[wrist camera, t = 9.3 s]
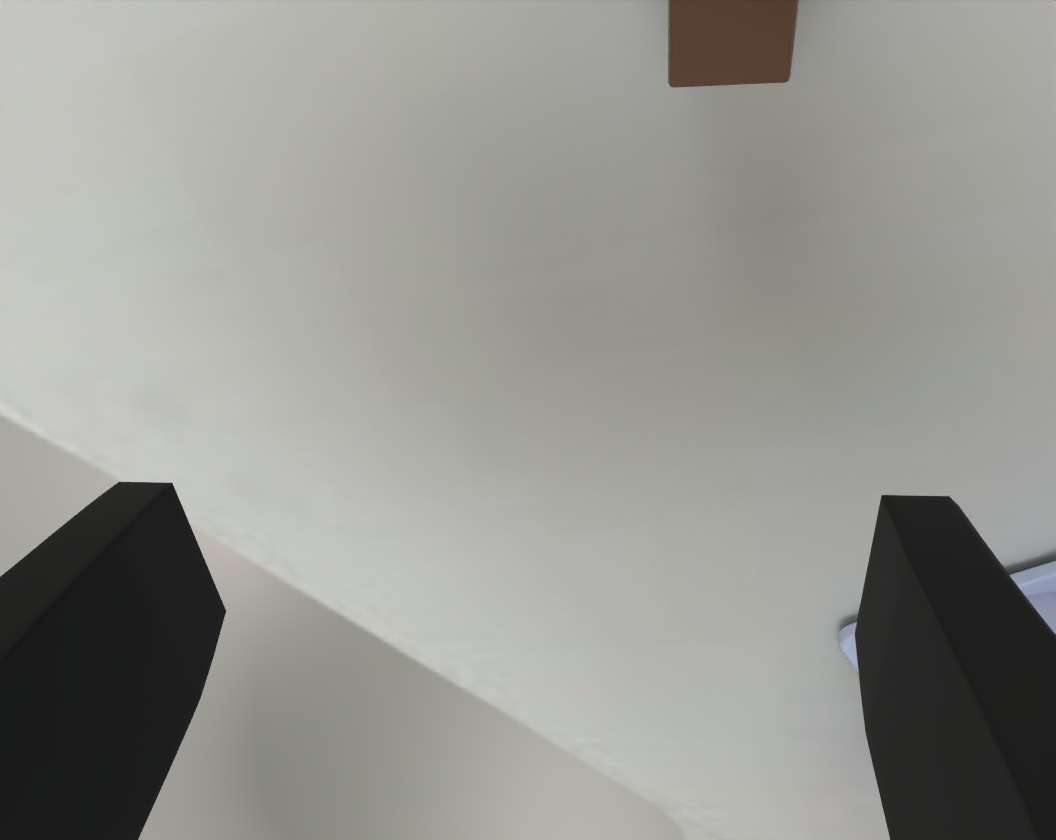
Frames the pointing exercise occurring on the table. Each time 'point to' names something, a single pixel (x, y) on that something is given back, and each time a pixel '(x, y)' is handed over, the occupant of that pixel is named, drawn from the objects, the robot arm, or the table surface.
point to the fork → (730, 41)
